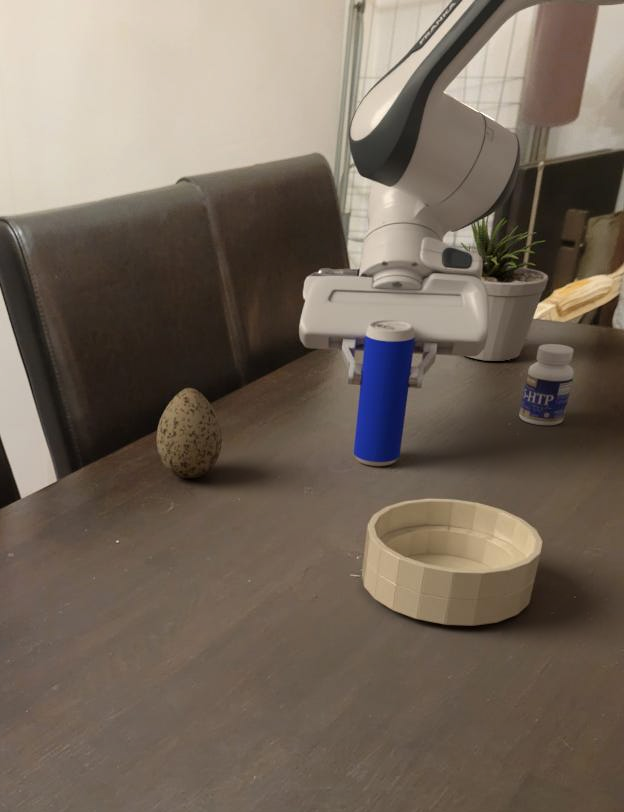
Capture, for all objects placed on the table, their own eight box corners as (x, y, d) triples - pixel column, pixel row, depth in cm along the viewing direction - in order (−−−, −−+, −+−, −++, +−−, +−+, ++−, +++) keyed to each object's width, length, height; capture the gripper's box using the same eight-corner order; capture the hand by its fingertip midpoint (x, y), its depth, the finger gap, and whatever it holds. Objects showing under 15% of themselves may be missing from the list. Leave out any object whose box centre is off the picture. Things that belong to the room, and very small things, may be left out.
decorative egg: (232, 482, 105) (235, 392, 100) (174, 493, 103) (173, 403, 97) (202, 460, 111) (204, 374, 105) (146, 470, 108) (145, 383, 103)
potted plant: (509, 340, 151) (535, 201, 140) (546, 365, 139) (577, 216, 128) (431, 342, 150) (451, 204, 139) (461, 368, 139) (485, 219, 128)
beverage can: (405, 456, 110) (423, 323, 102) (388, 470, 107) (405, 334, 99) (364, 447, 113) (377, 317, 105) (345, 461, 109) (358, 327, 101)
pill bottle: (510, 419, 120) (524, 348, 116) (532, 409, 123) (546, 339, 119) (549, 429, 117) (565, 356, 112) (571, 419, 120) (587, 348, 115)
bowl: (509, 554, 90) (520, 500, 87) (547, 635, 78) (562, 575, 75) (355, 550, 91) (361, 496, 88) (369, 628, 79) (377, 569, 76)
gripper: (305, 251, 106) (288, 364, 104) (498, 256, 102) (485, 375, 99) (307, 284, 112) (291, 392, 110) (489, 290, 108) (477, 403, 105)
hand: (384, 384), depth 104 cm, fingers closed on beverage can, 5 cm apart
